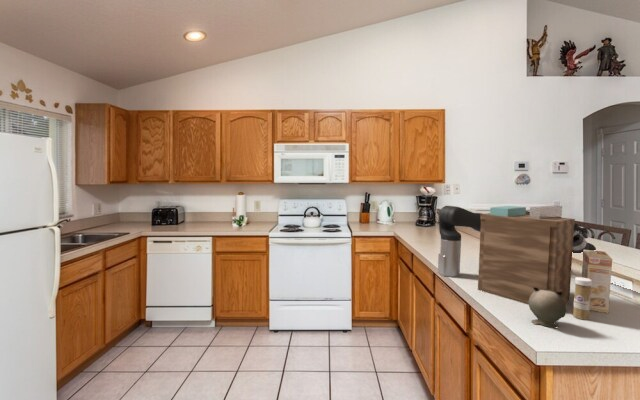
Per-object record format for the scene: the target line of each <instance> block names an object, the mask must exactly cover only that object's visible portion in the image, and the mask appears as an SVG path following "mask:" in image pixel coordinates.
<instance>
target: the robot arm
mask: <svg viewBox="0 0 640 400" xmlns="http://www.w3.org/2000/svg"><path fill="white" fill-rule="evenodd" d="M480 214H483V213H481V212H472V211H470V210H468V209H465V208H462V207H459V206H454V205H444V206H443V207H442V208H441V209H440V211H439V214H438V215H439V217H438V223H439V224H438V225H439V226H438V228H439V229H438V230H439V231H438V232H439V235H440V248H439V249H440V253H438V258H437V259H438V260H437V266H438V267H437V273H438V274H440V275H441V276H443V277H453V278H454V277H456V278H457V277H460V275H461V253H462V252H461V251H462V234H461V233H460V232H459V231H458V230H457V229H456V227H465V228H471V229H473V230H474V231H477V232H479V233H480V229H481V219H480ZM589 234H590V232H589V231H588V228H587V227H582V226H579V224H578V223H576V222H575V224H574V234H573V250H572V252H573V253H581V252H583V250H596V251H597V248H596V246H595V245H594V244H593V243H590V242H587V240H586V239H588V238H589V236H590V235H589Z"/></svg>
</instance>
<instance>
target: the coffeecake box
mask: <svg viewBox="0 0 640 400" xmlns="http://www.w3.org/2000/svg"><path fill="white" fill-rule="evenodd" d="M581 266H582V267H581V277H583V278H588V279H591V280H592V286H591V297H590V310H589V311H594V312H598V311H600V312H599V313H604V312H606V313H605V314H609V308H610V305H609V304H610V295H611V294H610V293H611V280H612V279H611V278H612V266H613V258H612V257H611V256H610V255H609V254H608V253H607V252H606V251H603V250H602V251H601V250H596V251H594V250H583V265H581Z"/></svg>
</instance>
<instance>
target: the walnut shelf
mask: <svg viewBox="0 0 640 400" xmlns="http://www.w3.org/2000/svg"><path fill="white" fill-rule="evenodd" d="M480 219H481V229H480V232H479V234H480V235H479V253H478V254H479V255H478V257H479V258H478V259H479V260H478V275H477V277H478V278H477V279H478V280H477V290H479V291H481V290H482V292H483V291H484V292H485V293H487V294H491V295H495V296H498V297H501V298H503V299H504V298H505V299H509V300H512V301H515V302H519V303H522V304H524V305H525V304H526V305H529V298H530V296H531V294H532V293H533V292H534V291H535V290H534V289H533V287H536V288H538V290H550V291H553V292H562V295H561V296H562V297H563V298H564V300H565V302H566V305H567V304H569V303H570V295H571V293H570V292H571V282H572V281H571V279H572V267H573V266H572V263H573V262H572V261H573V257H572V250H573V234H574V224H575V223H576V222H575V221H576V219H575V218H570V217H569V218H568V217H560V216H556V217H549V218H542V219H536V218H530V214H527V213H526V214H525V215H516V216H508V217H507V216H497V215H490V212H489V213H482V214H480Z"/></svg>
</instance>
